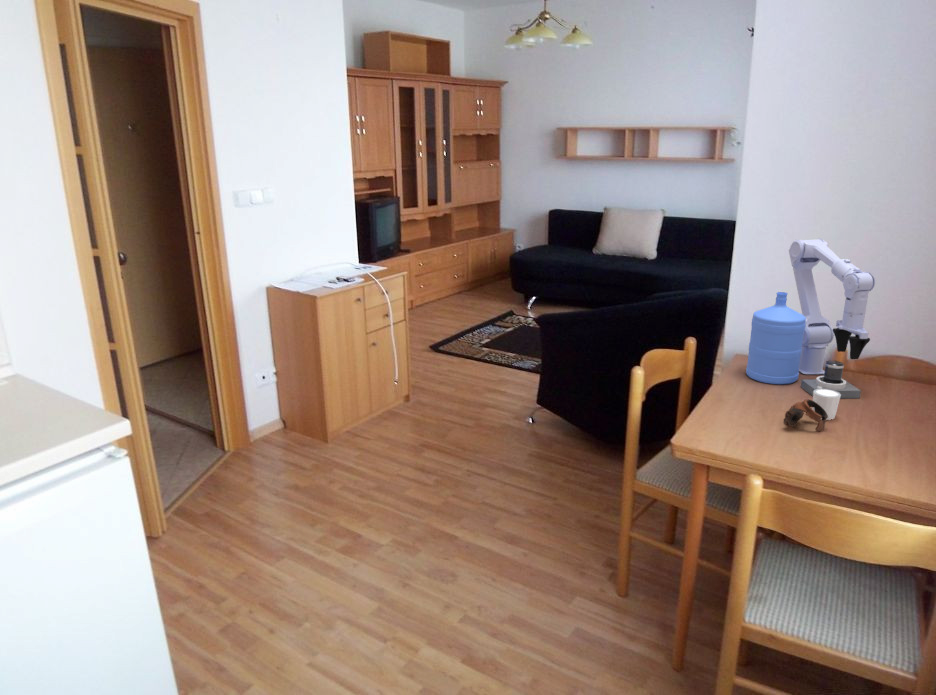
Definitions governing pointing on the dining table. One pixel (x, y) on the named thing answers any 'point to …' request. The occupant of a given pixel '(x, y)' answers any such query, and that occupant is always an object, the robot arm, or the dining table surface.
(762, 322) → the water jug
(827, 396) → the white cup
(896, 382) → the dining table surface
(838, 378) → the lens
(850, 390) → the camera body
